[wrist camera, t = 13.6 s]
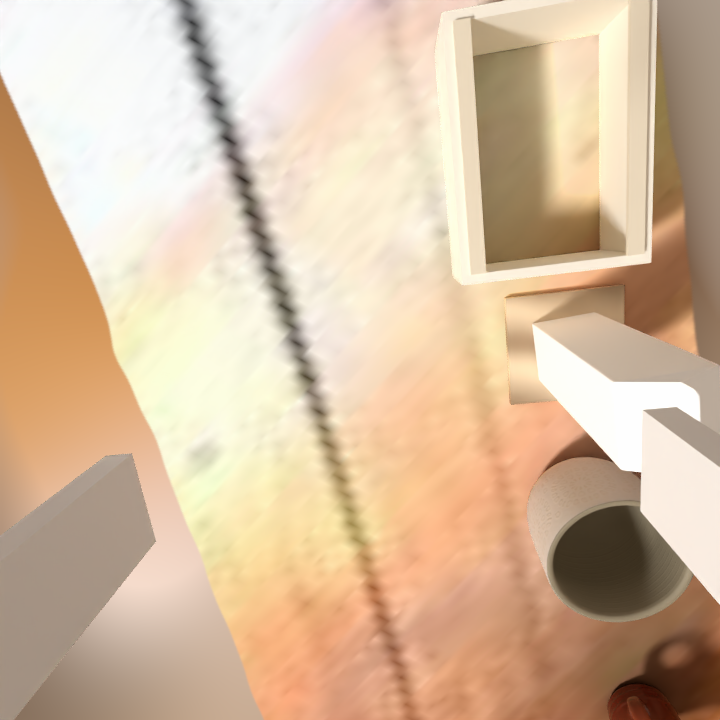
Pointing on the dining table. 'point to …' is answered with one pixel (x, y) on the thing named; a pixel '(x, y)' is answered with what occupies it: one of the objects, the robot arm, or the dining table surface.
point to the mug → (640, 704)
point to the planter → (602, 542)
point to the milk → (621, 380)
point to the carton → (616, 125)
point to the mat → (546, 308)
